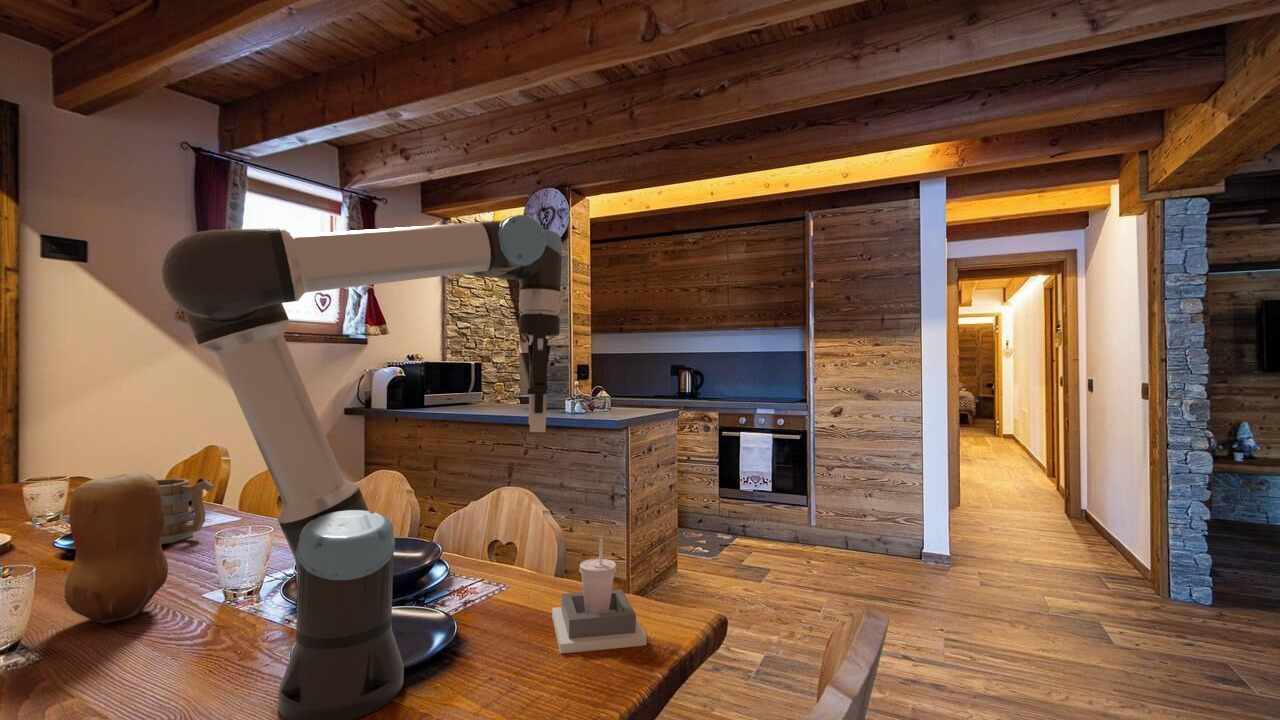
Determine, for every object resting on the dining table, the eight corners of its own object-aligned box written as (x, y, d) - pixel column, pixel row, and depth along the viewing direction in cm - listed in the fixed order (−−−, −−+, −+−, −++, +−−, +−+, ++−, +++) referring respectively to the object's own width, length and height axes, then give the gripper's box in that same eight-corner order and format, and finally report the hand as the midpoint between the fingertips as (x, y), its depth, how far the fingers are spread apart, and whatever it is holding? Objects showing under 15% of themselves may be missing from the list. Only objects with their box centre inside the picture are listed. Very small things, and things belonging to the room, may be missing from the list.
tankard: (113, 543, 140) (115, 481, 140) (164, 529, 152) (166, 472, 153) (184, 549, 137) (186, 486, 137) (230, 534, 149) (232, 476, 149)
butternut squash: (61, 618, 99) (66, 472, 100) (161, 597, 109) (165, 464, 110) (65, 646, 90) (71, 484, 90) (174, 620, 100) (179, 474, 100)
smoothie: (600, 632, 95) (602, 547, 95) (570, 622, 99) (572, 540, 99) (622, 618, 101) (624, 538, 101) (592, 610, 104) (594, 531, 104)
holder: (560, 653, 91) (560, 624, 91) (551, 616, 105) (552, 591, 105) (646, 645, 94) (647, 617, 94) (627, 610, 108) (628, 585, 108)
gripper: (565, 308, 97) (561, 435, 97) (555, 320, 121) (552, 421, 121) (519, 306, 95) (515, 435, 95) (519, 318, 120) (516, 421, 119)
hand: (536, 428), depth 108 cm, fingers open, 13 cm apart
